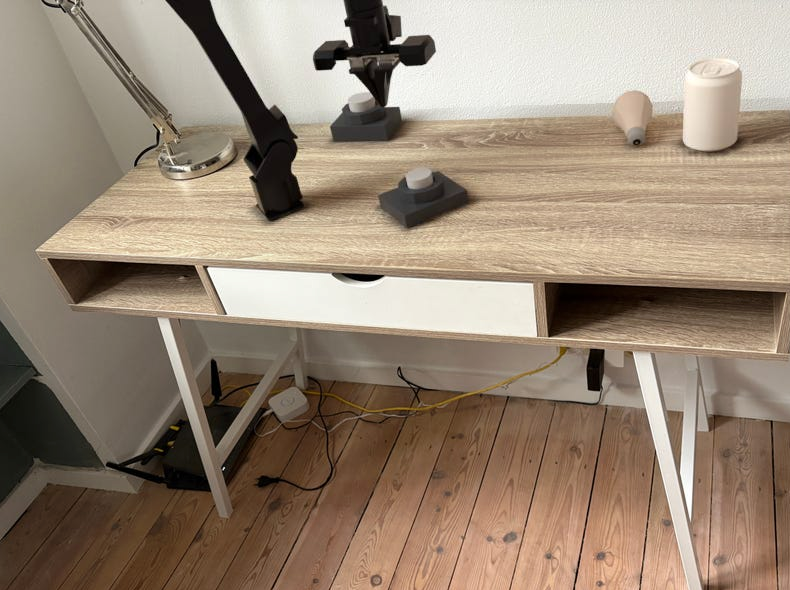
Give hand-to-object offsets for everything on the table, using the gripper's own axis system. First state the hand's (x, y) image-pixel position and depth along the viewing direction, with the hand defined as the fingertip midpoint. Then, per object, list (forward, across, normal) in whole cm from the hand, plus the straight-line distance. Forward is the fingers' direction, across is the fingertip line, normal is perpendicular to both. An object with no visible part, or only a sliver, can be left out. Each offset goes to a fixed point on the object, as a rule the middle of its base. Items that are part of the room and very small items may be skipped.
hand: (384, 105), depth 133 cm
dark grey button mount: (+11, +11, -14) cm, 21 cm away
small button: (+7, -9, +12) cm, 17 cm away
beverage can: (+11, -50, -8) cm, 52 cm away
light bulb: (+11, -38, -11) cm, 41 cm away
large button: (+6, +11, -15) cm, 19 cm away
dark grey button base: (+11, -9, +12) cm, 19 cm away
